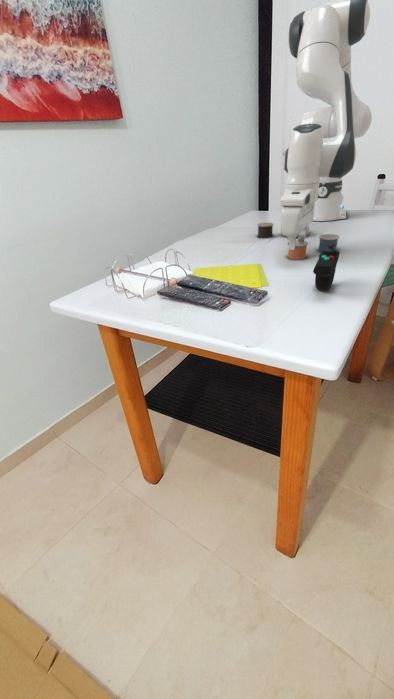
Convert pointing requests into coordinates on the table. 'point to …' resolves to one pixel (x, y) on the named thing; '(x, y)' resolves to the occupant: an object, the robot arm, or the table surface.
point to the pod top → (327, 241)
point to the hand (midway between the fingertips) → (297, 244)
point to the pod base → (265, 230)
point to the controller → (326, 267)
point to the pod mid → (298, 250)
